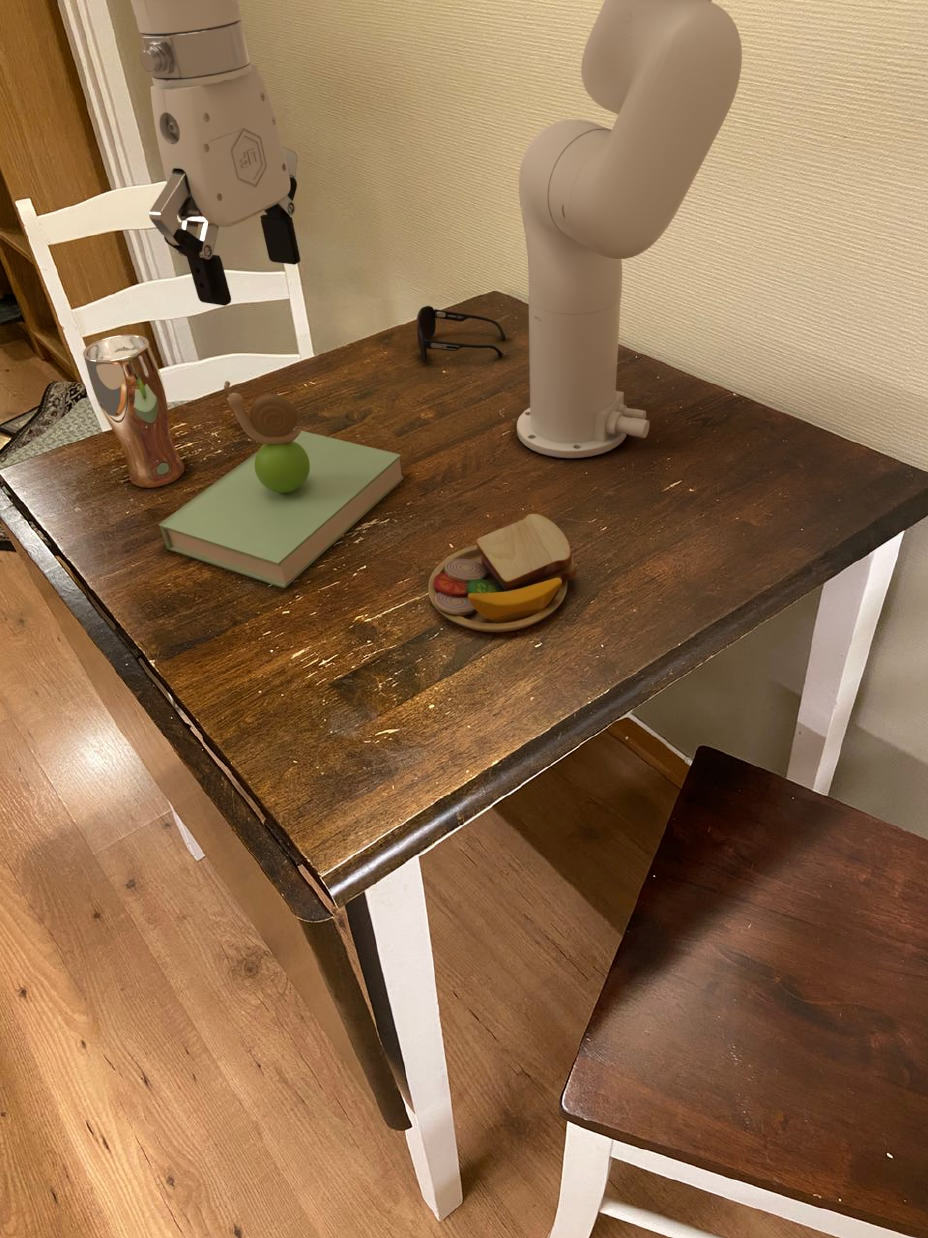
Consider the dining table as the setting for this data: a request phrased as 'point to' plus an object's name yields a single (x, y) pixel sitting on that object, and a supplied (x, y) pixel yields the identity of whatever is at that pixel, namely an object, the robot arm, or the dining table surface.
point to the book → (283, 511)
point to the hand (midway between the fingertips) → (251, 281)
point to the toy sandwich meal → (505, 577)
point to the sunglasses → (428, 326)
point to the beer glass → (135, 407)
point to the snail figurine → (273, 440)
